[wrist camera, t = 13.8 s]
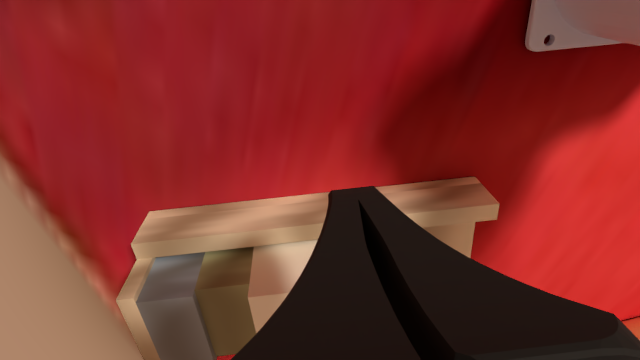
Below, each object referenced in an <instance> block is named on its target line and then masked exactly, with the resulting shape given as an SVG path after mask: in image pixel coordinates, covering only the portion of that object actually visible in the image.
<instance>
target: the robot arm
mask: <svg viewBox="0 0 640 360" xmlns="http://www.w3.org/2000/svg"><path fill="white" fill-rule="evenodd" d="M548 35H550V39H549V41H548V42H547V43H546V44H544V39H545V37H546V36H548ZM619 43H629V44H633V45H638V46H640V0H532V4H531V9H530V15H529V21H528V27H527V33H526V39H525V46H526V48H527V49H529V50H531V51H535V52H539V51H549V50H559V49H569V48H579V47H589V46H599V45H609V44H619ZM231 360H640V340H639V339H638V338H637V337H636V336H635V335H634V334H633V333H632V332H631V331H630V330H629V329H628V328H627V327H626V326H625V325H624V324H623V323H622V322H621V321H620V320H619V319H618V318H617V317H616V316H615V315H614V314H612V313H609V312H606V311H602V310H599V309H596V308H593V307H590V306H587V305H584V304H580V303H577V302H574V301H571V300H568V299H565V298H561V297H558V296H556V295H553V294H550V293H547V292H545V291H542V290H540V289H537V288H534V287H532V286H529V285H527V284H524V283H522V282H519V281H517V280H515V279H512V278H510V277H508V276H505V275H503V274H501V273H499V272H497V271H495V270H493V269H491V268H489V267H486V266H484V265H482V264H480V263H478V262H476V261H475V260H473V259H471V258H469V257H467V256H465V255H464V254H462V253H460V252H458V251H457V250H455V249H453V248H452V247H450V246H448V245H447V244H445V243H443V242H442V241H440V240H439V239H437V238H436V237H434V236H433V235H432V234H430V233H429V232H427V231H426V230H425V229H423V228H422V227H420V226H419V225H418V224H417V223H415V222H414V221H413V220H412V219H410V218H409V217H408V216H407V215H405V214H404V213H403V212H402V211H401V210H400V209H398V208H397V207H396V206H395V205H394V204H393V203H392V202H391V201H390V200H388V199H387V198H386V197H385V196H384V195H383V194H382V193H381V192H380V191H379V190H378V189H376V188H375V187H374V186H369V187H360V188H351V189H342V190H332V191H331V192H330V193H329V194H328V208H327V213H326V217H325V220H324V224H323V227H322V230H321V233H320V236H319V238H318V240H317V243H316V245H315V248H314V250H313V252H312V254H311V256H310V258H309V260H308V262H307V264H306V266H305V268H304V270H303V272H302V273H301V275H300V277H299V278H298V280H297V281H296V283H295V285H294V286H293V288H292V289H291V291H290V292H289V294H288V295H287V297H286V298H285V299H284V301H283V302H282V303H281V305H280V306H279V307H278V308H277V310H276V311H275V312H274V313H273V315H272V316H271V317H270V318H269V319H268V321H267V322H266V323H265V324H264V326H263V327H262V328H261V329H260V330H259V331H258V332H257V333H256V335H255V336H254V337H253V338H252V339H251V340H250V341H249V342H248V343H247V344H246V345H245V346H244V347H243V348H242V349H241V350H240V351H239V352H238V353H237V354H236V355H235V356H234V357H233V358H232V359H231Z"/></svg>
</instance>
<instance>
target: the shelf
mask: <svg viewBox="0 0 640 360" xmlns="http://www.w3.org/2000/svg"><path fill="white" fill-rule="evenodd" d="M375 188H376V189H378V190H379V191H380V192H381V193H382V194H383V195H384V196H385V197H386V198H387V199H388V200H390V201H391V202H392V203H393V204H394V205H395V206H396V207H397V208H398V209H400V210H401V211H402V212H403V213H404V214H405V215H407V216H408V217H409V218H410V219H412V220H413V221H414V222H415V223H417V224H418V225H419V226H420V227H422V228H423V229H425V230H426V231H427V232H429V233H430V234H432V235H433V236H434V237H436V238H437V239H439V240H440V241H442V242H443V243H445V244H447V245H448V246H450V247H452V248H453V249H455V250H457V251H458V252H460V253H462V254H464V255H465V256H467V257H469V258H470V257H471V250H472V243H473V236H474V229H475V222H480V221H489V220H497V216H498V210H499V205H500V204H499V202H498V201H497V200H496V199H495V198H494V197H493V196H492V195H491V194H490V193H489V191H488V190H487V189H486V188H485V187H484V186H483V185H482V184H481V183H480V181H479V180H478V179H477V178H476V177H465V178H456V179H447V180H437V181H428V182H419V183H410V184H400V185H391V186H382V187H375ZM329 193H330V192H326V193H317V194H308V195H298V196H289V197H280V198H271V199H261V200H252V201H243V202H233V203H224V204H215V205H206V206H196V207H187V208H178V209H169V210H159V211H150V212H149V213H148V215H147V216H146V218H145V220H144V222H143V224H142V225H141V227H140V229H139V231H138V232H137V234H136V236H135V238H134V239H133V241H132V243H131V246H132V249H133V251H134V254H135V256H136V259H137V260H136V262H135V264H134V266H133V268H132V270H131V272H130V274H129V276H128V278H127V280H126V282H125V283H124V285H123V287H122V289H121V291H120V293H119V295H118V297H117V299H116V302H117V304H118V306H119V308H120V310H121V312H122V314H123V317H124V319H125V321H126V323H127V325H128V327H129V329H130V332H131V334H132V336H133V338H134V340H135V342H136V344H137V346H138V349H139V351H140V353H141V355H142V357H143V359H144V360H217V356H224V355H232V354H237V353H238V352H239V351H240V350H241V349H242V348H243V347H244V346H245V345H246V344H247V343H248V342H249V341H250V340H251V339H252V338H253V337H254V336H255V335H256V330H255V326H254V322H253V318H252V313H251V309H250V305H249V301H248V291H249V283H250V274H251V266H252V258H253V249H254V246H263V245H272V244H281V243H290V242H299V241H308V240H317V239H318V238H319V236H320V233H321V230H322V227H323V224H324V220H325V217H326V213H327V208H328V194H329Z"/></svg>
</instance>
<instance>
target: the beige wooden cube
mask: <svg viewBox="0 0 640 360" xmlns="http://www.w3.org/2000/svg"><path fill="white" fill-rule="evenodd" d="M317 240H318V239H317ZM317 240H308V241H299V242H290V243H281V244H272V245H263V246H254V249H253V258H252V266H251V274H250V283H249V291H248V301H249V305H250V309H251V313H252V318H253V322H254V326H255V330H256V333H257V332H258V331H259V330H260V329H261V328H262V327H263V326H264V324H265V323H266V322H267V321H268V319H269V318H270V317H271V316H272V315H273V313H274V312H275V311H276V310H277V308H278V307H279V306H280V305H281V303H282V302H283V301H284V299H285V298H286V297H287V295H288V294H289V292H290V291H291V289H292V288H293V286H294V285H295V283H296V281H297V280H298V278H299V277H300V275H301V273H302V272H303V270H304V268H305V266H306V264H307V262H308V260H309V258H310V256H311V254H312V252H313V250H314V248H315V245H316V243H317Z"/></svg>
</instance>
